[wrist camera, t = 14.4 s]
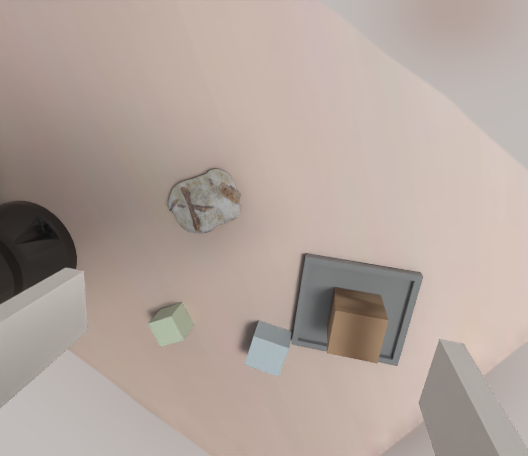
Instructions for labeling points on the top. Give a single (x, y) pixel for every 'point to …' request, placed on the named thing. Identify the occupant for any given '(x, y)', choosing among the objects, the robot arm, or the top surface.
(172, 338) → the block sage
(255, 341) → the block bluegrey
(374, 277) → the tray
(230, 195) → the stone
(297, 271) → the top surface
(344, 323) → the block walnut
